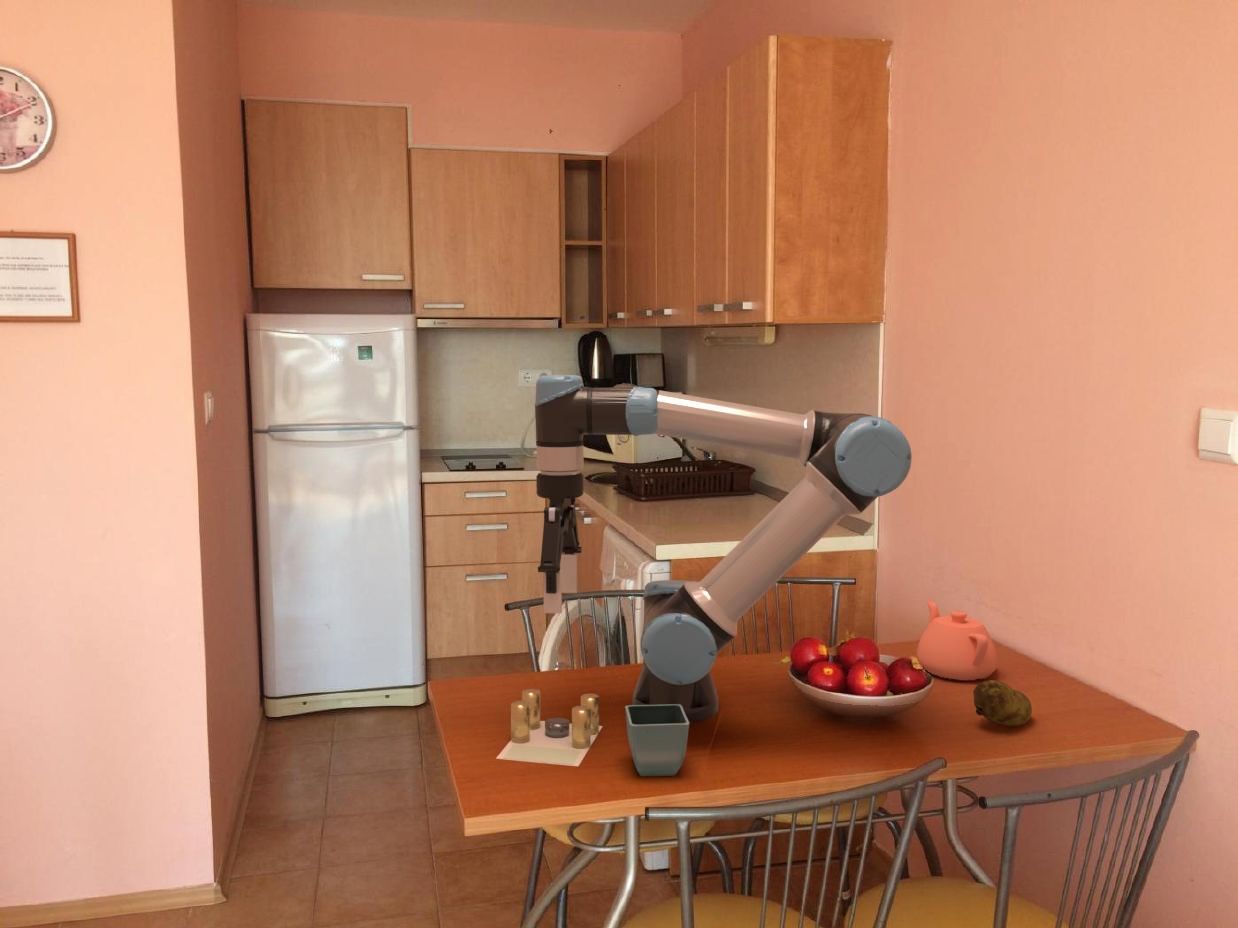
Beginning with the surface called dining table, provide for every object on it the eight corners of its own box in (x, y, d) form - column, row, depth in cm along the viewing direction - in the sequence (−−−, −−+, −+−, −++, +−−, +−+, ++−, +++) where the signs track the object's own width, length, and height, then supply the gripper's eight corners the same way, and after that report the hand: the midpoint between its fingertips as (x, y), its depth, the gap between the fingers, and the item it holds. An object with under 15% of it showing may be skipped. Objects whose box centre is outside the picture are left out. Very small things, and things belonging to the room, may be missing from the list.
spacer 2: (542, 724, 173) (542, 689, 172) (537, 730, 170) (537, 695, 169) (525, 722, 173) (525, 688, 172) (519, 729, 170) (519, 693, 170)
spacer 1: (532, 737, 167) (532, 701, 166) (526, 744, 164) (526, 707, 163) (514, 735, 167) (514, 699, 167) (508, 742, 164) (508, 706, 164)
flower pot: (623, 760, 159) (624, 704, 158) (680, 759, 160) (681, 703, 159) (629, 784, 150) (630, 724, 150) (688, 782, 151) (690, 723, 150)
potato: (1051, 728, 175) (1054, 682, 174) (989, 737, 171) (991, 690, 170) (1017, 712, 183) (1019, 668, 182) (957, 720, 178) (959, 675, 177)
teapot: (893, 656, 215) (895, 599, 214) (959, 653, 218) (962, 596, 217) (947, 691, 194) (950, 627, 192) (1019, 687, 197) (1023, 624, 195)
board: (602, 728, 172) (602, 725, 172) (578, 769, 156) (578, 765, 155) (527, 722, 175) (527, 719, 175) (495, 761, 158) (495, 757, 158)
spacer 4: (592, 742, 165) (592, 706, 164) (588, 749, 162) (588, 712, 161) (574, 741, 165) (574, 704, 165) (569, 748, 162) (569, 711, 162)
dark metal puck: (571, 730, 170) (572, 718, 170) (565, 739, 166) (566, 727, 166) (548, 728, 171) (548, 716, 171) (542, 737, 167) (542, 725, 167)
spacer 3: (600, 729, 171) (600, 694, 170) (596, 735, 168) (596, 700, 167) (582, 727, 171) (583, 692, 170) (578, 734, 168) (578, 698, 168)
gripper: (552, 463, 177) (553, 584, 180) (518, 481, 153) (520, 621, 155) (595, 463, 176) (596, 585, 179) (568, 482, 152) (569, 622, 154)
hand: (561, 602), depth 167 cm, fingers open, 13 cm apart
